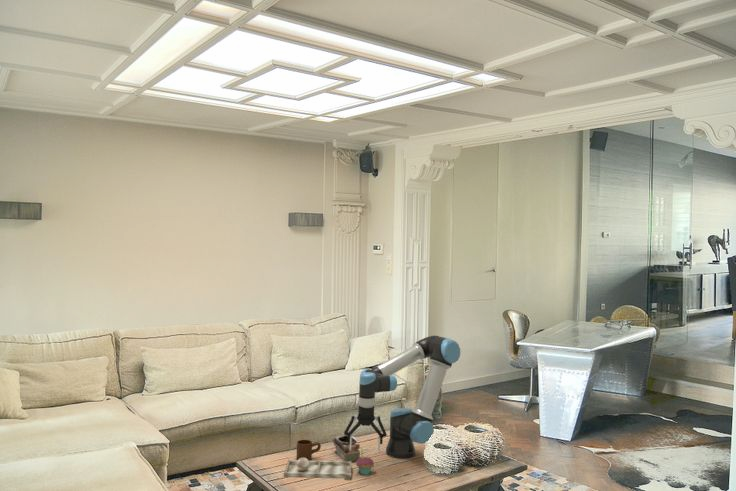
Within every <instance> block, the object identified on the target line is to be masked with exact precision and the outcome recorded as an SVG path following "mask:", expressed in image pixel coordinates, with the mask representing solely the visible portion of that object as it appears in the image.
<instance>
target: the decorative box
mask: <svg viewBox="0 0 736 491" xmlns="http://www.w3.org/2000/svg"><path fill="white" fill-rule="evenodd" d="M331 441H332V443H333V445H334V447H335V451H336V454H337V455H338V456H339V457H340V458H341V459H342V460H343V462H351V463H353V462H354V461H357V460H358V459H359V458H360V455H361V451H360V450H359V449H360V443H358V442H357V441H358V439H357V438H356V437H355V436H353V435H352V442H351V451H350V443H348V442H347V441H348V436H347V435H344V434H341V435H337V436H333V437H332V439H331Z"/></svg>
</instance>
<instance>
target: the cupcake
mask: <svg viewBox="0 0 736 491" xmlns="http://www.w3.org/2000/svg"><path fill="white" fill-rule="evenodd" d="M360 449H361V451H360V453H361V457H359V459H358V460H355V461H356V462H355V465H356V467H357V468H358V471H359V474H360V475H363V476H364V475H369V474H370V472H371V470H372V468H373V467H374V465H375V462H374V460H373V459H372V458H370V457H367V456H364V450H363V448H360Z"/></svg>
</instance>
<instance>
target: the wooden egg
mask: <svg viewBox="0 0 736 491" xmlns="http://www.w3.org/2000/svg"><path fill="white" fill-rule="evenodd" d="M308 467H309V461H308V459H306V458H304V457H303V458H300V459H299V460H298V461H297V468H298V469H299V470H301V471H305V470H307V469H308Z"/></svg>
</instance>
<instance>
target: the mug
mask: <svg viewBox="0 0 736 491" xmlns="http://www.w3.org/2000/svg"><path fill="white" fill-rule="evenodd" d="M316 446H317V447H316ZM313 447H316V448H313ZM321 448H322V444H321V443H320V442H318V441H314V442H313V441H312V440H310V439H300V440H297V441H296V460H297V461H298V460H299V459H300V458H303V457H304V458H306V459H308V461H312V459H313V458H312V457H313V454H314V453H317V452H319V451H320V450H321Z"/></svg>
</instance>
